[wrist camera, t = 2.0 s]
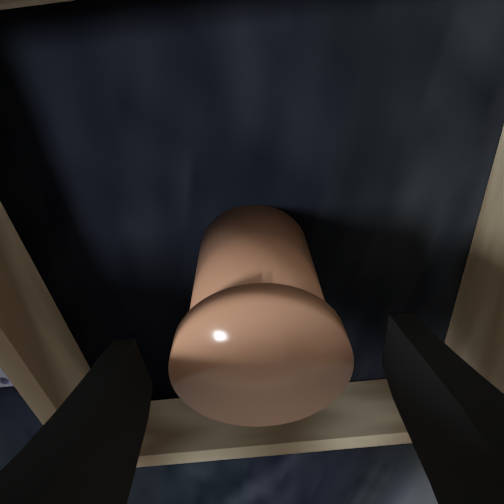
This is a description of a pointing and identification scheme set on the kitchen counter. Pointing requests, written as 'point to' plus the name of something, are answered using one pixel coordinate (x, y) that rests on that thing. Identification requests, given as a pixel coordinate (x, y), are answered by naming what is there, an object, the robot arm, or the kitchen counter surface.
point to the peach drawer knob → (258, 326)
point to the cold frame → (233, 436)
